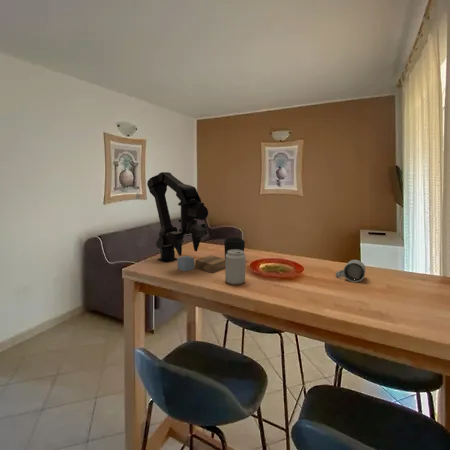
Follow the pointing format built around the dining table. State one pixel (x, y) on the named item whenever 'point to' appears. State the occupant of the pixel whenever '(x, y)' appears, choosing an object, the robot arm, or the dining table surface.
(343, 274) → the ceramic mug
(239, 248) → the pen holder
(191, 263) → the cube
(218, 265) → the walnut block
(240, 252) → the can
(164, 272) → the dining table surface
